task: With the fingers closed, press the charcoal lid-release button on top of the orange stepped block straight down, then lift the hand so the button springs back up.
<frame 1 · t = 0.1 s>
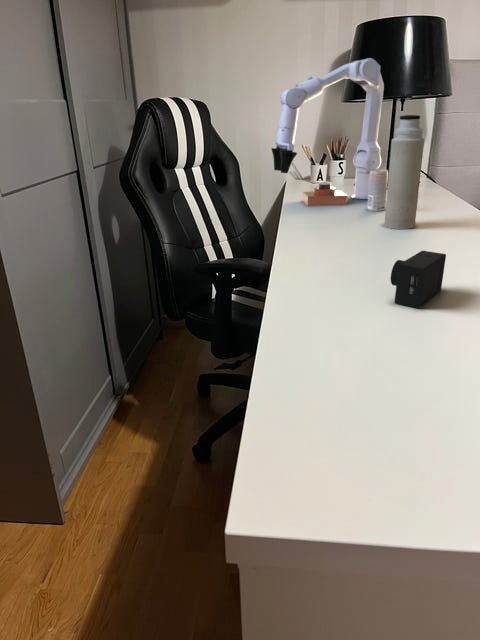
hand: (280, 171, 168), 11 cm above the table, tool pointing down, fingers open, 7 cm apart
digital camera: (414, 297, 87), on the table
lid button: (324, 186, 168), point 5 cm above the table, slide at 0.1 cm
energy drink: (376, 210, 158), on the table
orange stepped block: (324, 202, 170), on the table
thermos bottle: (399, 226, 137), on the table
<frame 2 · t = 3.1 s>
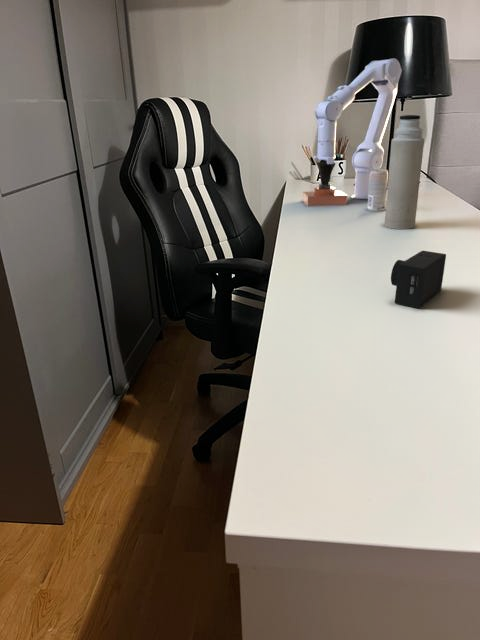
hand: (324, 184, 168), 6 cm above the table, tool pointing down, fingers closed, pressing on lid button
lid button: (324, 186, 168), point 5 cm above the table, slide at 0.0 cm, touching gripper
everything else where it was.
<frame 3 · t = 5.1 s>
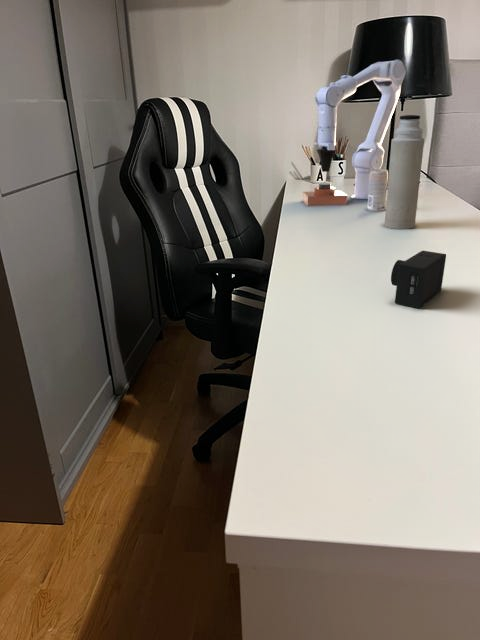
hand: (325, 171, 166), 10 cm above the table, tool pointing down, fingers closed
lid button: (324, 186, 168), point 5 cm above the table, slide at 0.1 cm
everything else where it was.
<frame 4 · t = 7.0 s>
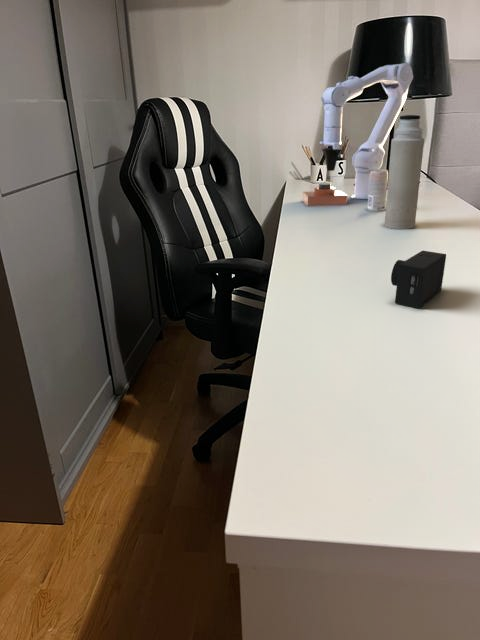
hand: (330, 170, 168), 10 cm above the table, tool pointing down, fingers closed
nothing on the table moved.
at the end: lid button pushed in 1.2 cm at the most during the clip, back to where it started at the end; lid button slide at 0.1 cm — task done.
